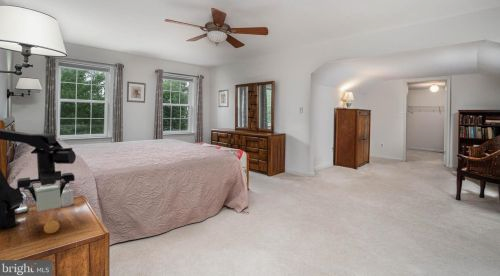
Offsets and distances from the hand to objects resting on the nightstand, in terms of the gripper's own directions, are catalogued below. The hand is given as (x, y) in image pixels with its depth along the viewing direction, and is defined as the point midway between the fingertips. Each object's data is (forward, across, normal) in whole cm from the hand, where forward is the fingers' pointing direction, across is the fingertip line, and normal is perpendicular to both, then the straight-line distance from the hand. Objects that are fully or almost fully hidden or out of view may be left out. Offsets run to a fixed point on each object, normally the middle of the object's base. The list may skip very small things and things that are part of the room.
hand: (48, 199), depth 107 cm
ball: (+9, 0, -10) cm, 13 cm away
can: (+12, +2, +25) cm, 28 cm away
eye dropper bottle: (+12, +9, +22) cm, 27 cm away
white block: (+3, 0, 0) cm, 3 cm away
